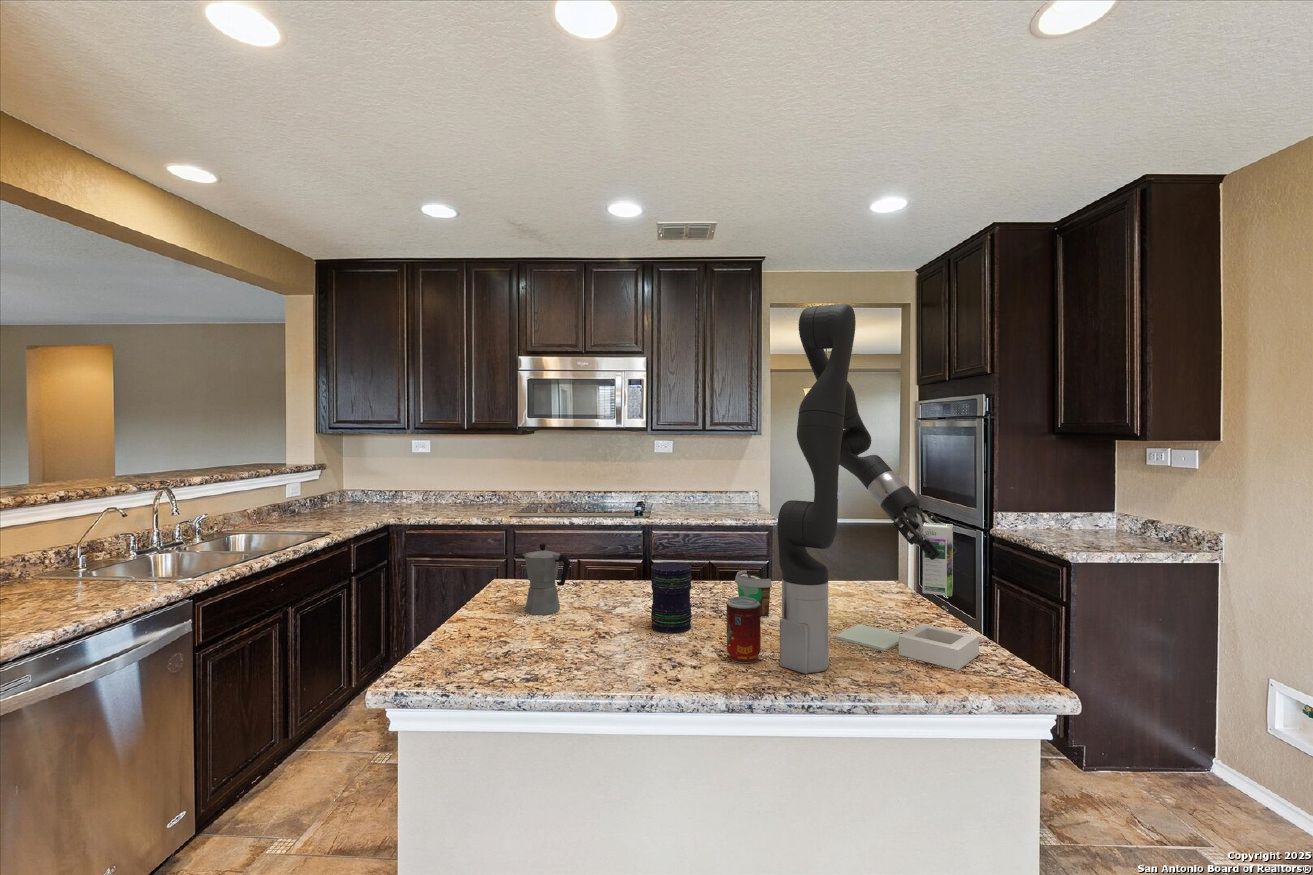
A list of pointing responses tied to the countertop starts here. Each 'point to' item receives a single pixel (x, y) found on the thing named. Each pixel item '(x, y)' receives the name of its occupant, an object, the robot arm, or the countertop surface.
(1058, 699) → the countertop surface
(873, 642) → the green mat
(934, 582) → the syrup box
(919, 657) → the socket collar
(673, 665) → the countertop surface
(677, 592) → the storage jar
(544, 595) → the coffeepot
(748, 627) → the soda can
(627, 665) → the countertop surface
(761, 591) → the food container
